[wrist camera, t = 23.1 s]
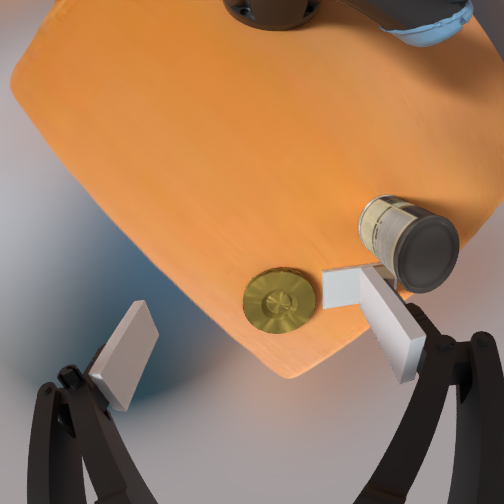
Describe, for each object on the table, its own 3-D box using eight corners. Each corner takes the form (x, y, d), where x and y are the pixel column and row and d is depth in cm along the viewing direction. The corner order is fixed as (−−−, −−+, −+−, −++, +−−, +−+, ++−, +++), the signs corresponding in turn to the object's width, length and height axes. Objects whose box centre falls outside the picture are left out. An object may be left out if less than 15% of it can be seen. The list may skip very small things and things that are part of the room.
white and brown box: (321, 270, 45) (324, 274, 43) (396, 259, 44) (401, 263, 42) (322, 305, 47) (324, 311, 46) (393, 294, 47) (397, 298, 45)
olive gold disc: (300, 255, 44) (302, 261, 42) (320, 312, 48) (323, 319, 46) (231, 281, 46) (230, 287, 44) (258, 334, 50) (259, 341, 48)
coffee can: (401, 184, 39) (453, 202, 26) (416, 238, 43) (462, 271, 30) (348, 209, 41) (387, 238, 28) (368, 263, 44) (404, 307, 31)
